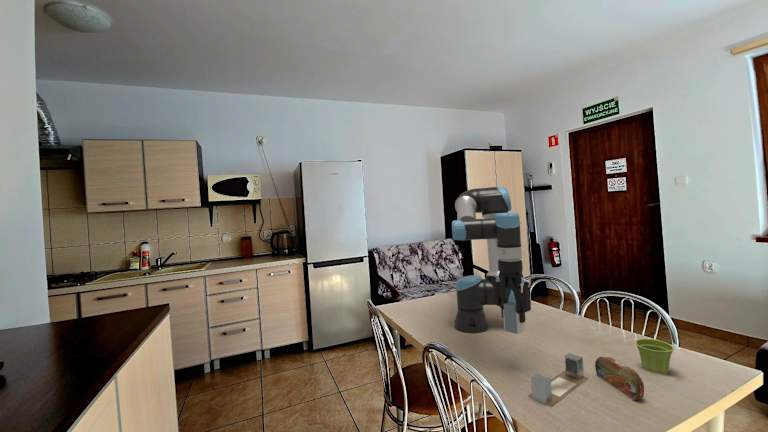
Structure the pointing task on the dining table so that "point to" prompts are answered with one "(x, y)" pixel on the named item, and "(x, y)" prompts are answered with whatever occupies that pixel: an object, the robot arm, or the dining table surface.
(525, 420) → the dining table surface
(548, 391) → the near end finger
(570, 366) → the far end finger
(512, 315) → the block
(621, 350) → the dining table surface
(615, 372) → the tin
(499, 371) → the dining table surface
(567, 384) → the brown flat board
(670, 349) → the plant pot
